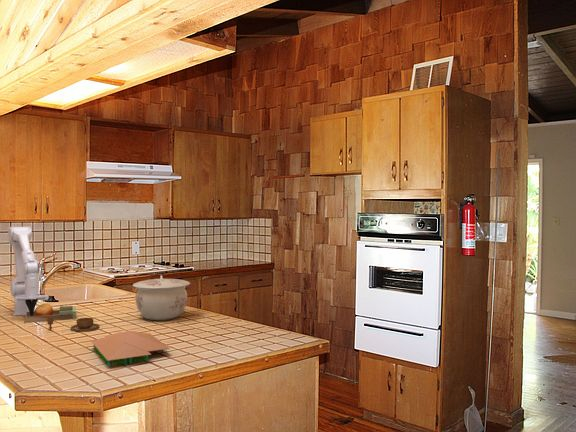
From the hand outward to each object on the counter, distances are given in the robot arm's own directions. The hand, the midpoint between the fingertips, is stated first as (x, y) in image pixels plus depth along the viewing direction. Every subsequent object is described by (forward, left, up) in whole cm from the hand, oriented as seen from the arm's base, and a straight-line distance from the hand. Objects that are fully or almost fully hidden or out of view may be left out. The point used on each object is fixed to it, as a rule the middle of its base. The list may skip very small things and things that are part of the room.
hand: (31, 315), depth 264 cm
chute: (0, +8, -2) cm, 8 cm away
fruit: (0, +6, -2) cm, 6 cm away
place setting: (+29, +20, -3) cm, 35 cm away
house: (+79, +38, -3) cm, 88 cm away
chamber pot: (+20, +59, -2) cm, 62 cm away
